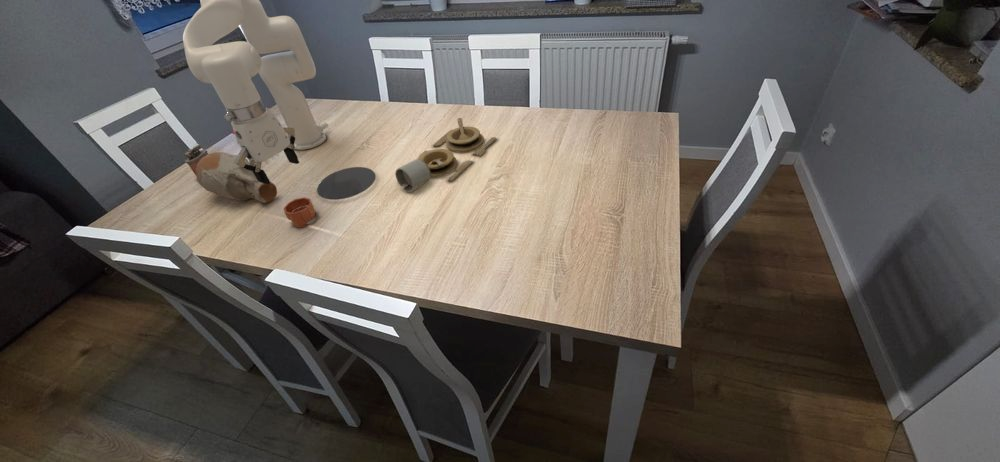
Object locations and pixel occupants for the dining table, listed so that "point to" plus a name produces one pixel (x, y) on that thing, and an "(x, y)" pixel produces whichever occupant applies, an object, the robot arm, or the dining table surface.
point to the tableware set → (455, 141)
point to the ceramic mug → (413, 174)
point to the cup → (300, 211)
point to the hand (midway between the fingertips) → (280, 172)
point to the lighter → (195, 157)
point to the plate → (346, 183)
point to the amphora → (232, 179)
